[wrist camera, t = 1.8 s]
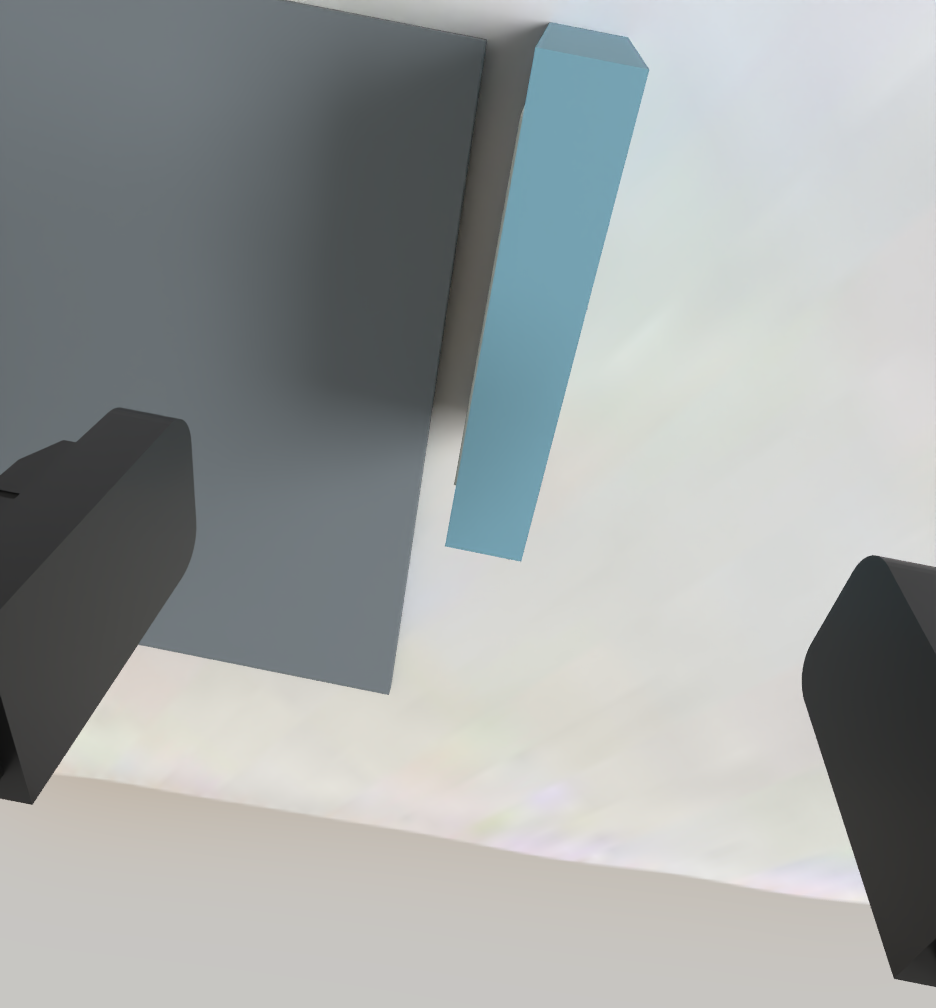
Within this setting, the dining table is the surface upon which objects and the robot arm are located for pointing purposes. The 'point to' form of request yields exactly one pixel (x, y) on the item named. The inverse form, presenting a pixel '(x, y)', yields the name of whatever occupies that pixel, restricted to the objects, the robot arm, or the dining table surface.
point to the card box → (542, 277)
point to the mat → (242, 290)
